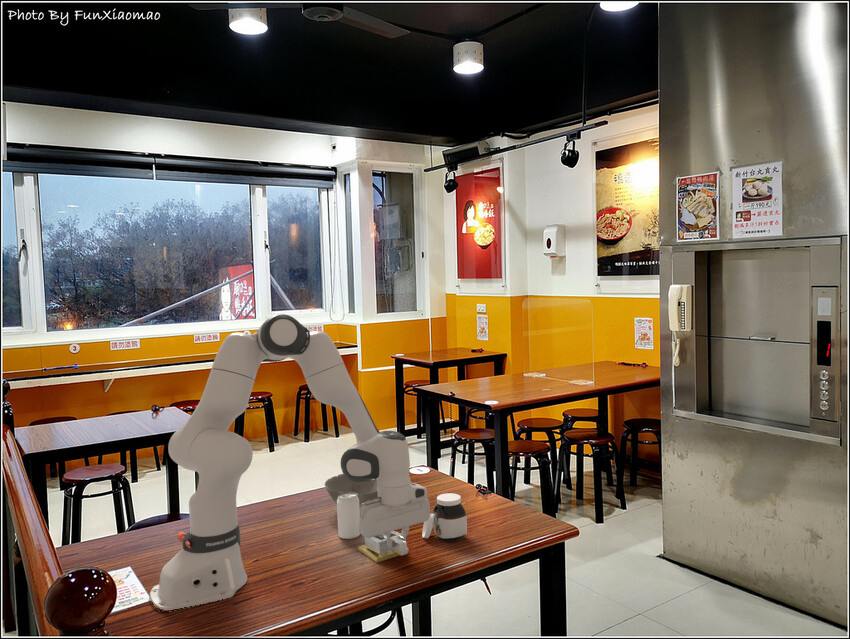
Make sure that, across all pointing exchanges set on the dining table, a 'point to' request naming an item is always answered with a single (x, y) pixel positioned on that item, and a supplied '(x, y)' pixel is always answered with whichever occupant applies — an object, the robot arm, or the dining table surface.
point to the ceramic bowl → (351, 488)
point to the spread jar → (447, 519)
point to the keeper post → (377, 556)
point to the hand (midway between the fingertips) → (396, 544)
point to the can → (348, 515)
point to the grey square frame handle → (382, 547)
